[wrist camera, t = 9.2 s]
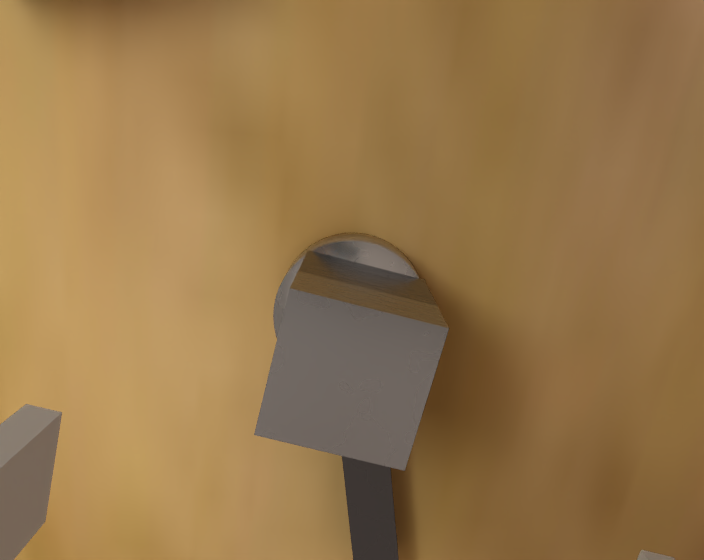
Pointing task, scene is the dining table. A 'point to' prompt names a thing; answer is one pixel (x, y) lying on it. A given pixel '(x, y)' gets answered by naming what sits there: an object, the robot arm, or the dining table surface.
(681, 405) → the dining table surface
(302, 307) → the grey rectangular block
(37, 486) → the robot arm
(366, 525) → the metal ladle
